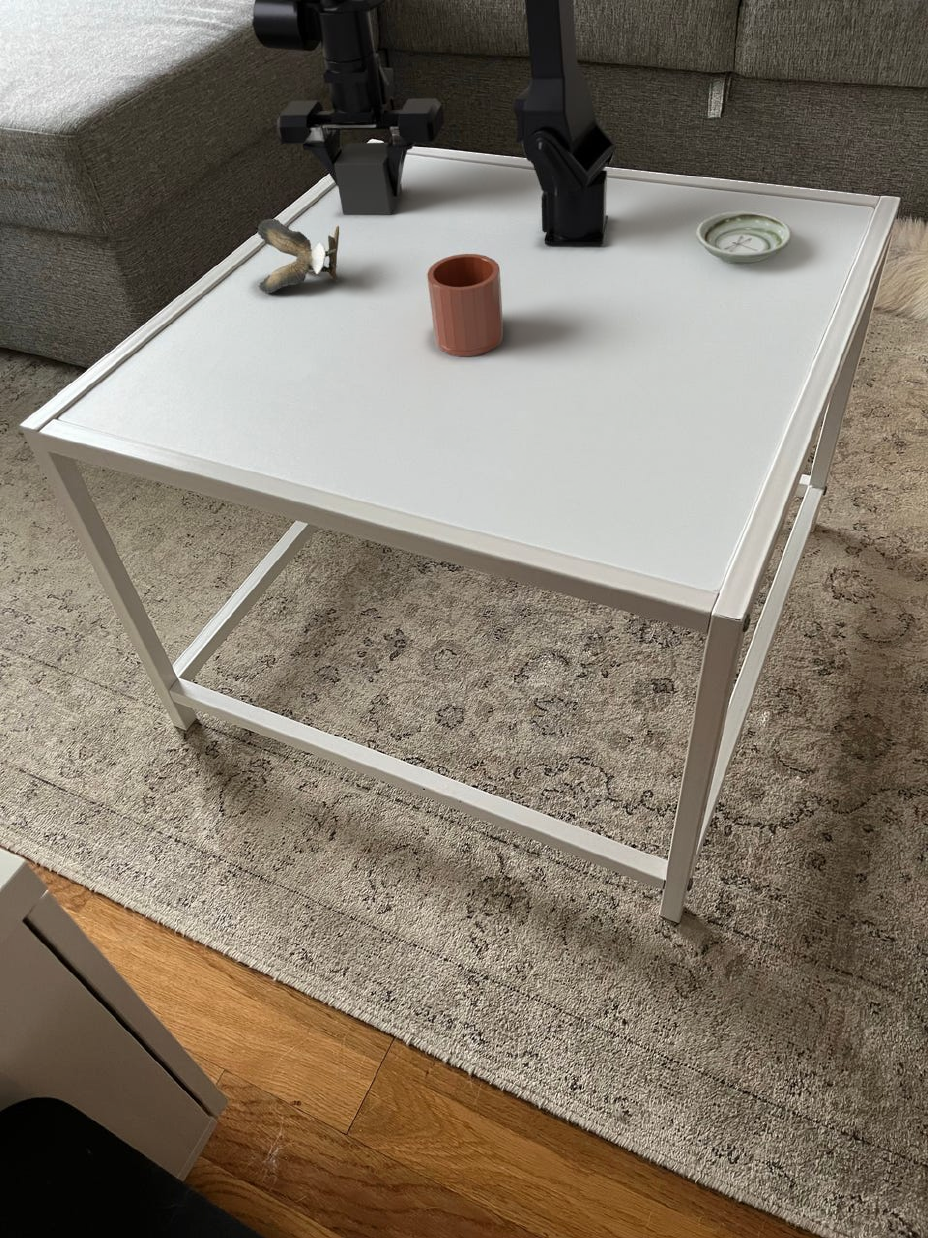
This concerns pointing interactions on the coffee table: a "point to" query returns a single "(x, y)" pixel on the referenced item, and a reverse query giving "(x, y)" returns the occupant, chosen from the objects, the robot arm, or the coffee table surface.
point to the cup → (466, 304)
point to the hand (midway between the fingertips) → (371, 194)
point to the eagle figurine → (301, 249)
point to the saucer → (743, 236)
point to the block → (365, 180)
